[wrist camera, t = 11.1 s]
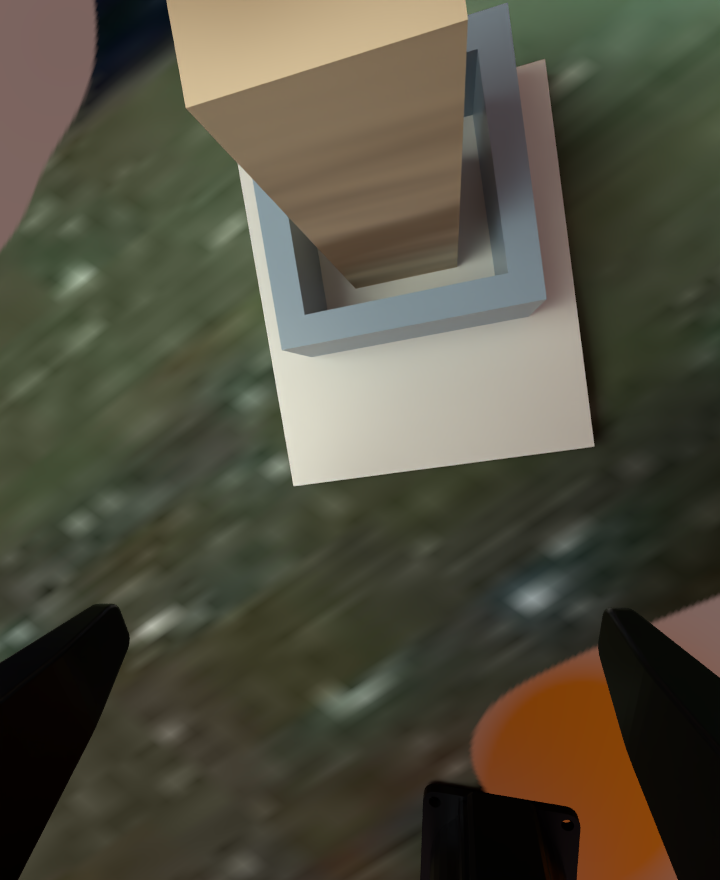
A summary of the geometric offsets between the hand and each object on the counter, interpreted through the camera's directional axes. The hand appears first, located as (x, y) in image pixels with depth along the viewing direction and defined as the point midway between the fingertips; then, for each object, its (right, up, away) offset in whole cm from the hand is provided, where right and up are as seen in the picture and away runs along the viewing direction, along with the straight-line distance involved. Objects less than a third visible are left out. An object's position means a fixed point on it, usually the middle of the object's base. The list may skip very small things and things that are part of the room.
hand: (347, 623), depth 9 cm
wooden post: (+2, +12, +10) cm, 15 cm away
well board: (+2, +9, +11) cm, 14 cm away
